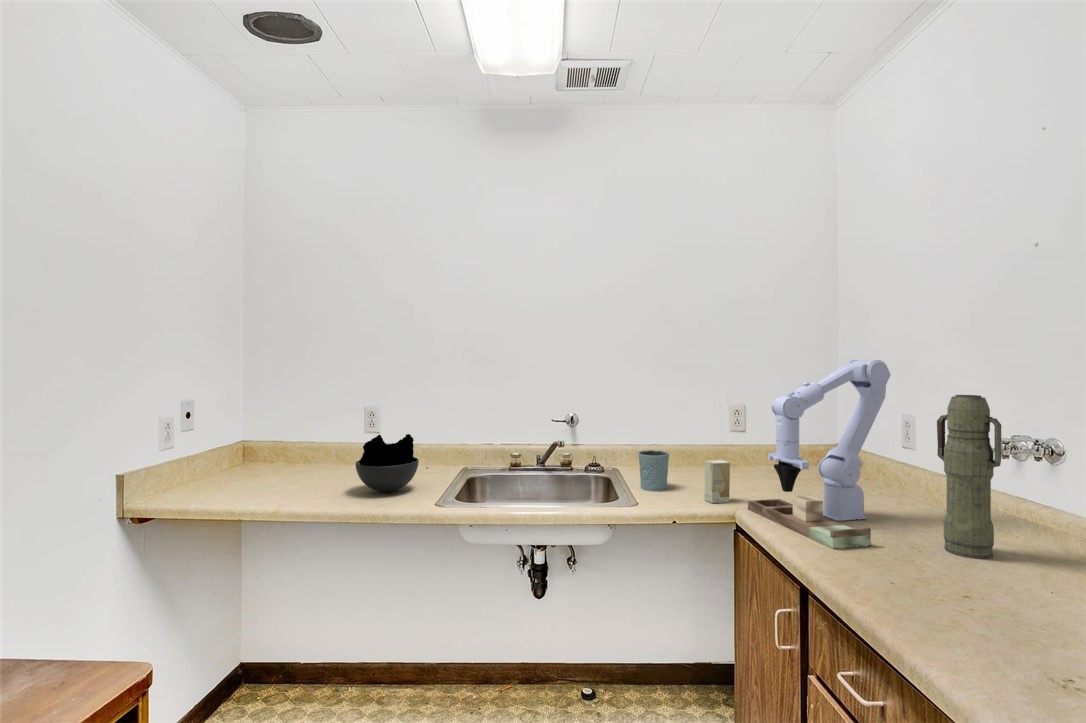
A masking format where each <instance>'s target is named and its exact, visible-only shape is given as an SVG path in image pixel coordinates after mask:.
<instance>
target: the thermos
mask: <svg viewBox="0 0 1086 723" xmlns="http://www.w3.org/2000/svg"><path fill="white" fill-rule="evenodd" d="M990 409H991V408H990V406H989V404H988V401H987V399H986V397H983V396H982V395H978V394H977V395H976V394H955V395H954V396H951V397H950V400H949V402H948V405H947V409H946V410H947V413H946V415H945V414H943V415H940V416H939V418H938V419H937V420H936V433H937V435H936V436H937V438H936V440H937V456H938V458H940V460H942V462H943V472H944V473H945V476H946V515H945V516H944V519H943V539H944V550H945V551H946V552H948V553H950V554H952V555H953V554H954V555H955V556H959V557H963V558H969V559H977V560H978V559H979V560H988V559H992V558H993V557H994V554H993V548H994V546H995V540H994V539H995V531H994V528H995V527H994V524H993V522H992V518H991V517H992V516H991V515H992V513H991V512H992V511H991V510H992V509H991V508H992V505H991V503H992V499H991V498H992V497H991V496H992V495H991V493H992V489H991V488H992V484H991V480H992V478H993V477H994V469H995V468H998V467H1000V466H1001V463H1002V424H1001V422H1000V421H999V420H998V418H995V417H993V416H991V410H990ZM946 423H947V424H946ZM991 423H992V424H993V427H994V451H993V447H992V444H991V438H990V432H991ZM946 425H947V426H946ZM946 427H947V428H946ZM946 429H947V430H948V431H947V432H948V434H947V436H946ZM946 437H947V438H946ZM946 439H947V440H946Z"/></svg>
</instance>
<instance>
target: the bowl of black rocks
mask: <svg viewBox="0 0 1086 723" xmlns="http://www.w3.org/2000/svg"><path fill="white" fill-rule="evenodd" d="M362 449H363V453H362V456H361V458H360V459H359V460H357V461H355V470H356V474H357V476H358V477H359V479H360V481H361V482H362V483H363V484H364V485H365V486H366V487H368V488H370V489H371V490H373V491H376V492H380V493H390V492H395V491H397V490H400V489H402V488H404V487H406V486H407V485H408V484H409V483H410V481H412V480H413V478H414V477H415V475H416V473H417V470H418V467H419V462H420V461H419V460H420V459H419V458H417V457H414V437H412V434H410V433H407V434H405V436H404V437H402V439H399V440H398V441H396V442H393V443H386V442H385V440H384V439H383V437H382V435H381V434H377V435H376V436H375V437H373V438H371V439H370V440H369V441H366V442H365V443H364V445H362Z"/></svg>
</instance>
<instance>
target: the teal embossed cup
mask: <svg viewBox="0 0 1086 723" xmlns="http://www.w3.org/2000/svg"><path fill="white" fill-rule="evenodd" d="M637 454H638V462H639V463H638V464H639V477H640V479H639V480H640V489H642V490H643V491H649V492H664V491H667V489H668V473H669V460H670V458H669V457H670V452H668V451H666V450H654V449H651V450H650V449H647V450H639V451H638V452H637Z"/></svg>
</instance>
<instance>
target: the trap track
mask: <svg viewBox="0 0 1086 723" xmlns="http://www.w3.org/2000/svg"><path fill="white" fill-rule="evenodd" d="M747 510H749V511H751V512H753V513H755V514H757V515H759V516H761V517H763V518H766V519H768V520H770V521H772V522H774V523H777V524H779V525H781V526H782V527H784V528H787V529H789V530H791V531H793V532H795V533H798V534H800V535H802V536H804V537H806V538H809V539H810V538H811V540H813V541H815V542H817V541H818V543H819V542H820V543H819V544H821V543H822V545H823V544H825V545H827V546H826V547H828V546H829V547H828V548H830V547H831V548H830V549H832V548H833V549H832V550H835V549H834V548H839V549H846V548H845V547H851V548H857V547H856V546H863V547H867V546H866V545H871V542H872V541H871V538H872V536H871V535H872V533H871V528H870V527H858V528H857V527H856V528H854V527H852V526H849V525H846V524H843V523H841V522H840V521H835V520H833V519H830V518H828V517H825V516H823V520H820V521H807V522H806V521H803V520H801V519H799V518H796V517H794V516H793V503H791V502H788V501H786V500H783V499H780V498H769V499H755V500H751V499H750V500H747ZM825 545H824V546H825Z"/></svg>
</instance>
